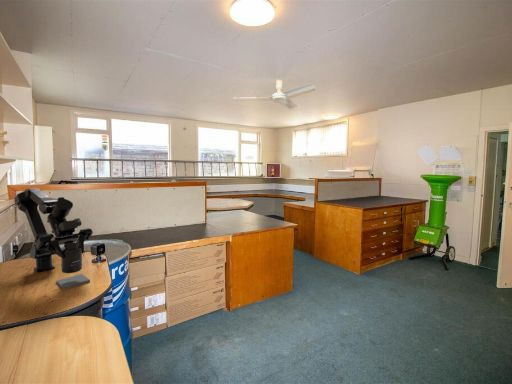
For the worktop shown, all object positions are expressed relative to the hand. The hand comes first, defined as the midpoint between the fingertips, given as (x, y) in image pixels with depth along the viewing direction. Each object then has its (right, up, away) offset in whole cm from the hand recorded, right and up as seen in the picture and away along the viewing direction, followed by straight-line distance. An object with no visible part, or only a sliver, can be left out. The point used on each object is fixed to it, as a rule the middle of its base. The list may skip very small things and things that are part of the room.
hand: (73, 255), depth 103 cm
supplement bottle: (-1, -7, +1) cm, 7 cm away
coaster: (-1, -11, +2) cm, 12 cm away
